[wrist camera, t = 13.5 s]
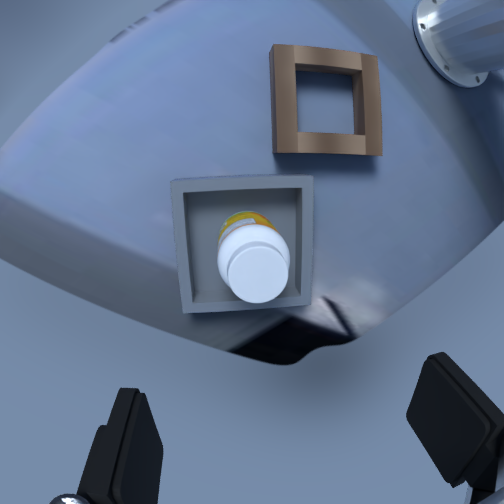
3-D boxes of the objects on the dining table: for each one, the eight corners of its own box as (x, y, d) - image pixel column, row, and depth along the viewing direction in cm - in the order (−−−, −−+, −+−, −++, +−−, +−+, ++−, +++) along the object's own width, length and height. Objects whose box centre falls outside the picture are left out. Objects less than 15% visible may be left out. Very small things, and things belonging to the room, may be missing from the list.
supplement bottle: (283, 252, 30) (309, 295, 21) (231, 274, 30) (236, 324, 21) (263, 201, 29) (283, 222, 19) (208, 223, 29) (203, 255, 20)
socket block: (366, 62, 26) (377, 56, 23) (370, 155, 29) (382, 155, 26) (269, 52, 25) (273, 44, 23) (272, 153, 28) (277, 152, 26)
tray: (304, 173, 29) (313, 175, 26) (302, 291, 32) (310, 304, 29) (175, 179, 28) (170, 181, 25) (186, 299, 31) (183, 313, 28)
